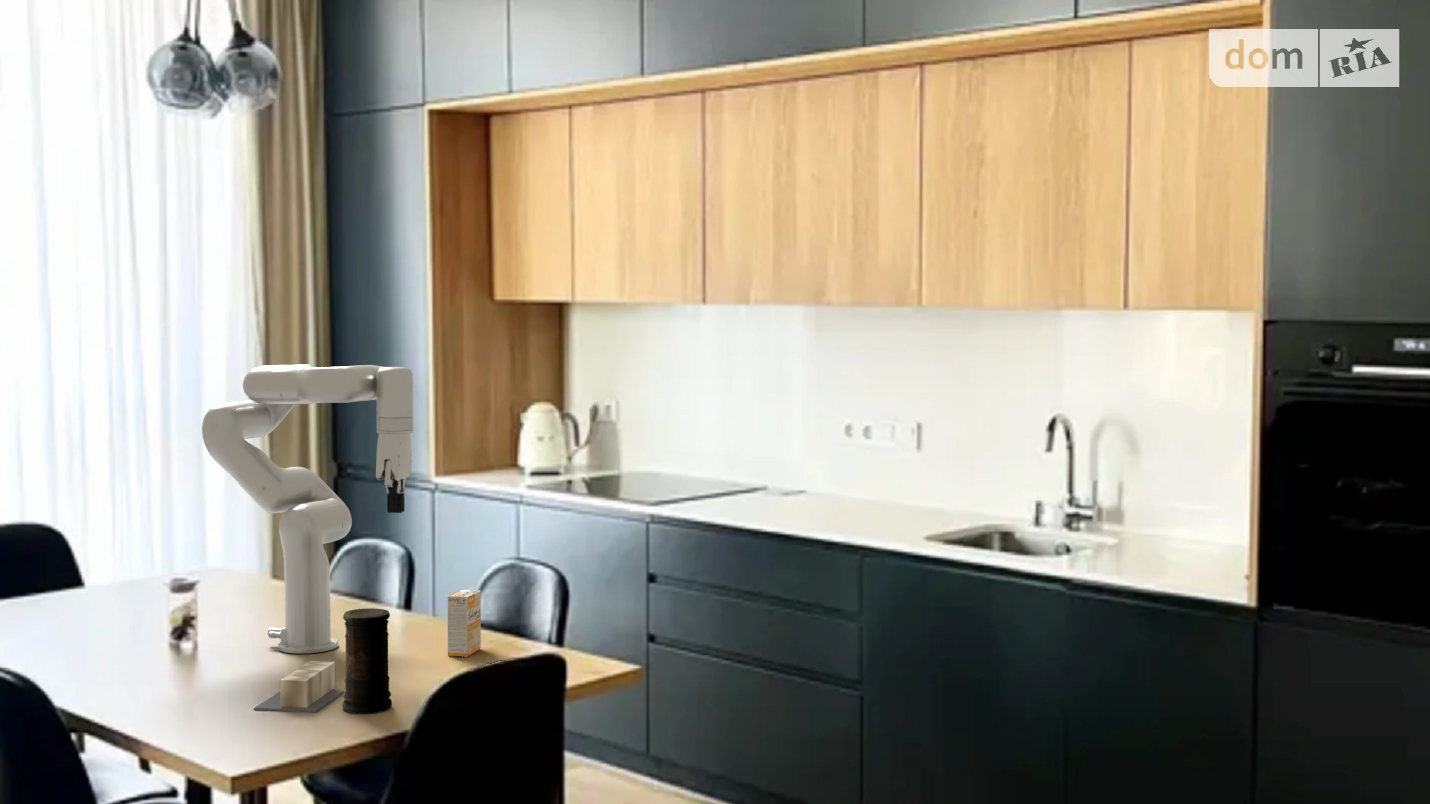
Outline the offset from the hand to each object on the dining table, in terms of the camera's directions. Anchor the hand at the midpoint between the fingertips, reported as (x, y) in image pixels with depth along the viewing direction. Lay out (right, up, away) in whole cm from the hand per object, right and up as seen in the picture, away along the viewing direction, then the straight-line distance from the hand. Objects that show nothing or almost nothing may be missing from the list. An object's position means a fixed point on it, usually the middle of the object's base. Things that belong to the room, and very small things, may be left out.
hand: (395, 512), depth 312 cm
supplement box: (+13, -31, +7) cm, 34 cm away
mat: (-11, -33, -33) cm, 48 cm away
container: (+3, -34, -37) cm, 50 cm away
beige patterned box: (-9, -30, -24) cm, 39 cm away
